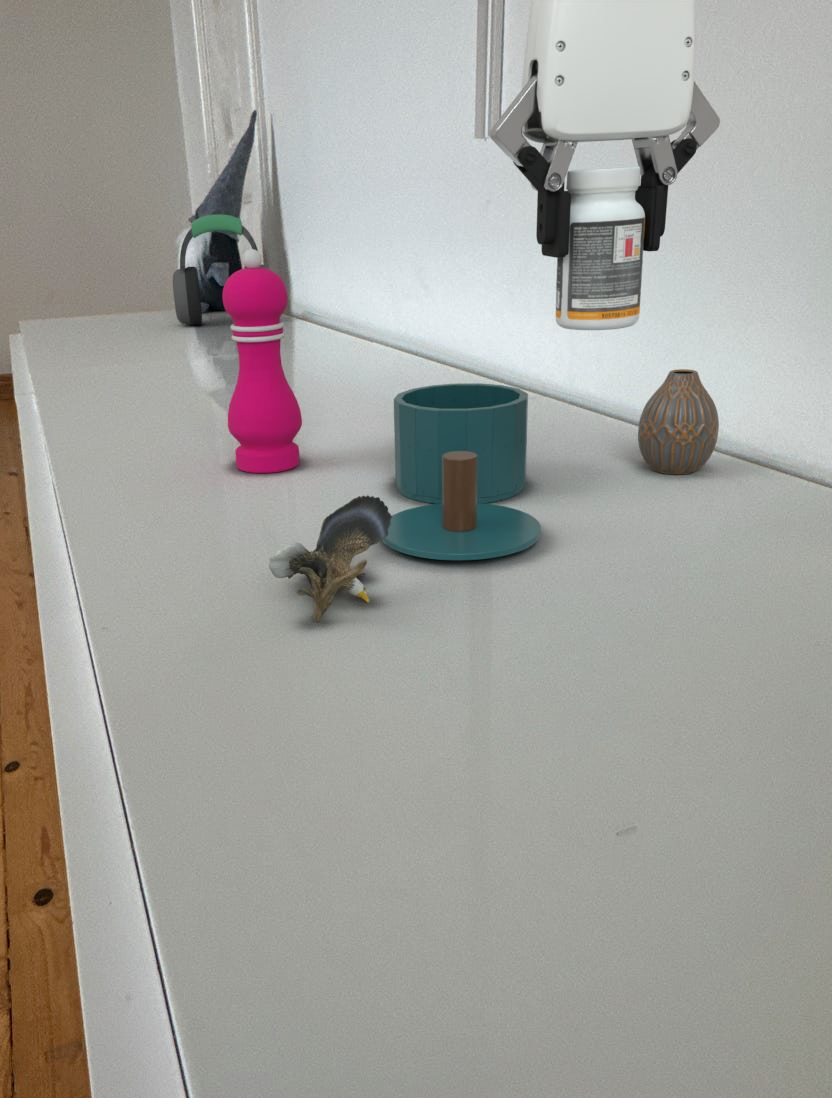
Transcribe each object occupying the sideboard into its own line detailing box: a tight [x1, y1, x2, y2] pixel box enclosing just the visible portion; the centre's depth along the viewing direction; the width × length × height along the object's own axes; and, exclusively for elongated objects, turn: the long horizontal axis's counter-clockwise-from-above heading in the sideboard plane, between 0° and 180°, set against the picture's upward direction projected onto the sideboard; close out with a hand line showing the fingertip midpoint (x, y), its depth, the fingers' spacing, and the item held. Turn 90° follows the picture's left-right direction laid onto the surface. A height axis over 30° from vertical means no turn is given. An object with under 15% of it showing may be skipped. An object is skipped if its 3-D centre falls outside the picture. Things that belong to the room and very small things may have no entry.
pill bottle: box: [555, 166, 645, 331], centre depth 67 cm, size 6×6×10 cm
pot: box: [393, 382, 529, 504], centre depth 88 cm, size 11×11×8 cm
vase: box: [637, 368, 720, 475], centre depth 90 cm, size 7×7×9 cm
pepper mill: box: [222, 248, 303, 474], centre depth 95 cm, size 7×7×20 cm
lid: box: [381, 451, 542, 561], centre depth 75 cm, size 12×12×7 cm
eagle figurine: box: [268, 495, 392, 623], centre depth 66 cm, size 8×7×9 cm
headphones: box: [172, 213, 269, 326], centre depth 195 cm, size 19×11×20 cm, turn 97°
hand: (599, 250), depth 67 cm, fingers closed on pill bottle, 5 cm apart
